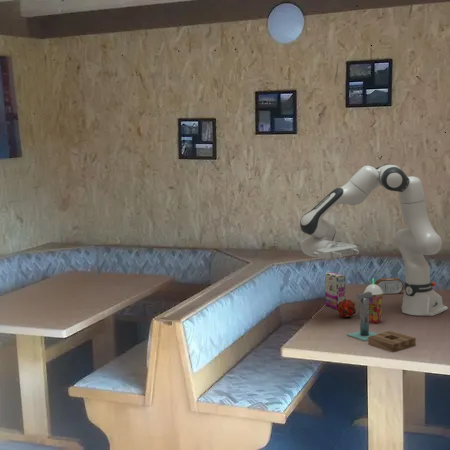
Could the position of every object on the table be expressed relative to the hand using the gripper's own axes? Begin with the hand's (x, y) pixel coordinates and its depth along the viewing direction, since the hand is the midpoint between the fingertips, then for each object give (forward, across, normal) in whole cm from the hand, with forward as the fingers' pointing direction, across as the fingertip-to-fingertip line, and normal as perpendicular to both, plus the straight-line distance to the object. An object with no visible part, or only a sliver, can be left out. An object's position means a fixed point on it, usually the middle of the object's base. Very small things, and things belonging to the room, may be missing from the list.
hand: (349, 254), depth 290 cm
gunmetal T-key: (+15, -7, +31) cm, 35 cm away
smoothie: (+3, +11, +32) cm, 34 cm away
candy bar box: (-27, +16, +32) cm, 45 cm away
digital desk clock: (-27, +54, +32) cm, 68 cm away
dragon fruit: (-11, +8, +32) cm, 35 cm away
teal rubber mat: (+15, -7, +32) cm, 36 cm away
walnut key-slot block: (+30, -7, +32) cm, 44 cm away
